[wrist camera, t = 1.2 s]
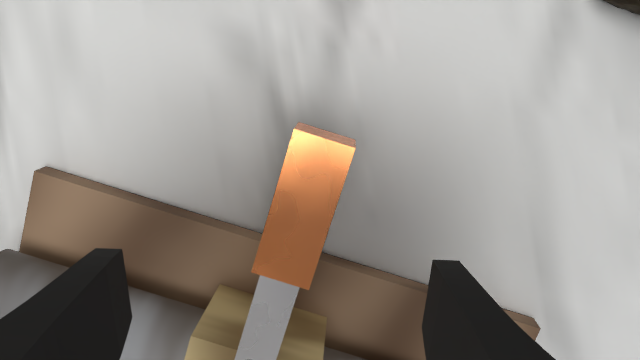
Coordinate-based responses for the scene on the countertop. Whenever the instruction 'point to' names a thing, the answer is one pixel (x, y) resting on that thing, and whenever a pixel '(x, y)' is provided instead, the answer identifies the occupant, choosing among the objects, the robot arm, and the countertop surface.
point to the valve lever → (294, 234)
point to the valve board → (207, 280)
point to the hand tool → (627, 5)
